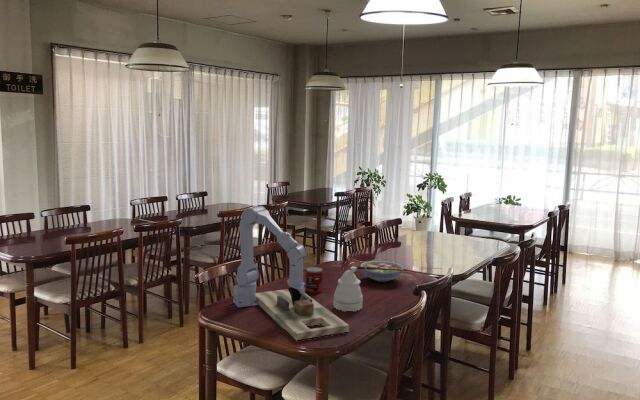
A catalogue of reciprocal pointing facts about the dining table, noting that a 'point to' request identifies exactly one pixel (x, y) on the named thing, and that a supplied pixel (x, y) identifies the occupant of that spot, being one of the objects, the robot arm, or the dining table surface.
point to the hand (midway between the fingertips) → (295, 304)
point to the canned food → (314, 280)
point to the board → (296, 326)
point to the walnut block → (303, 307)
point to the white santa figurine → (348, 292)
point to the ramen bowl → (381, 270)
